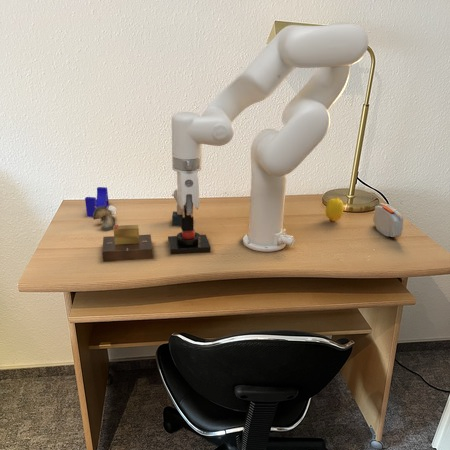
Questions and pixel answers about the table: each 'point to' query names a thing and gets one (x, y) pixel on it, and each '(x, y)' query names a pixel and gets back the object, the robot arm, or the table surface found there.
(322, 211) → the table surface
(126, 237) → the tan bar
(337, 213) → the lemon
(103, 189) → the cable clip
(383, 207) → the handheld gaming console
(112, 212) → the eagle figurine
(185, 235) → the button
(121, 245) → the panel
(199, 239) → the button block
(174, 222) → the watch
